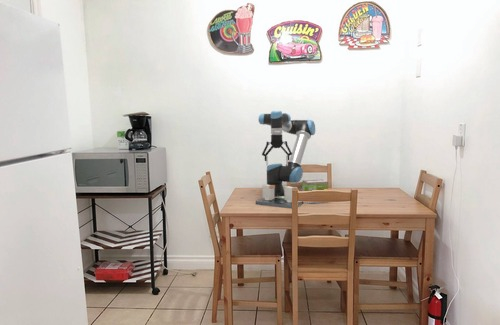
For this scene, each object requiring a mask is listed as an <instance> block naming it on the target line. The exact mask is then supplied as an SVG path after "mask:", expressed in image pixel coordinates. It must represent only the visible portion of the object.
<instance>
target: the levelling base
mask: <svg viewBox="0 0 500 325" xmlns="http://www.w3.org/2000/svg"><path fill="white" fill-rule="evenodd" d="M302 203H303V204H304V201H303V202H298V207H297V208H299V207H300V206H301V205H303V204H302ZM255 205H259V206H268V207H274V208H287V209H293V208H292V203H288V202H287V200H284V195H282V196H276V197H274V199H272V200H271V201H266V200H265V198H263V197H262V198H259V199H258V200H256V201H255Z"/></svg>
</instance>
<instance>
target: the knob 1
mask: <svg viewBox="0 0 500 325" xmlns="http://www.w3.org/2000/svg"><path fill="white" fill-rule="evenodd" d="M274 188H275V185H268V184H267V183H266V184H263V185H262V198H265V200H266V201H271V200H272V199H274V198H275V196H274Z"/></svg>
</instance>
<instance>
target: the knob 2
mask: <svg viewBox="0 0 500 325" xmlns="http://www.w3.org/2000/svg"><path fill="white" fill-rule="evenodd" d="M298 189H299V187H297V186H289V185H287V186H284V195H283V197H284V200H287V202H288V203H292V190H297V191H298Z"/></svg>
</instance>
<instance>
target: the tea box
mask: <svg viewBox="0 0 500 325" xmlns="http://www.w3.org/2000/svg"><path fill="white" fill-rule="evenodd" d="M301 186H302V187H301V192H302V191H312V190H324V189H328V190H329V181H327V180H324V179H321V178H320V179H319V178H318V179H303V180H302V185H301ZM305 203H306V204H319V203H323V202H305Z"/></svg>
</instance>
